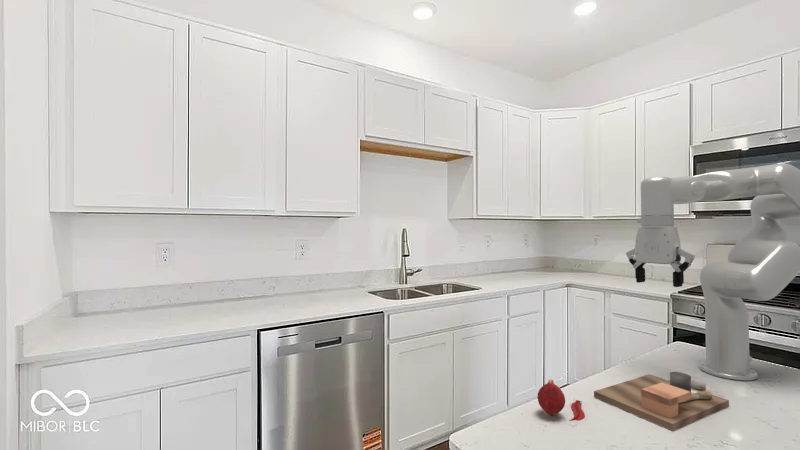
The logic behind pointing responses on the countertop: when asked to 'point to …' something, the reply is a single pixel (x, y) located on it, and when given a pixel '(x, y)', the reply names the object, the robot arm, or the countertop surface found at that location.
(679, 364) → the countertop surface
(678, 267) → the robot arm
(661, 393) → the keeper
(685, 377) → the link
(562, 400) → the red rounded oval piece
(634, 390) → the board
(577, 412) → the cayenne pepper
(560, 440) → the countertop surface
